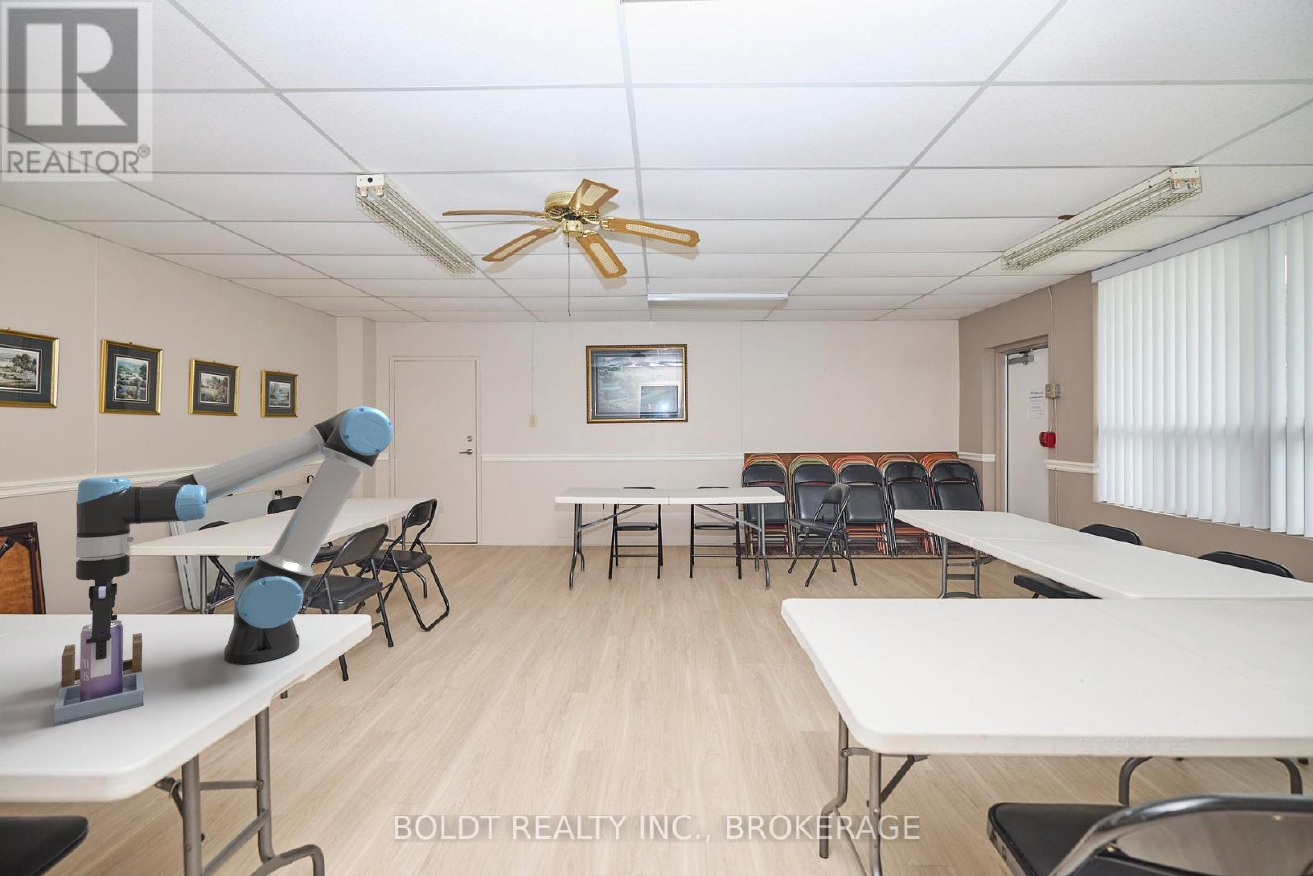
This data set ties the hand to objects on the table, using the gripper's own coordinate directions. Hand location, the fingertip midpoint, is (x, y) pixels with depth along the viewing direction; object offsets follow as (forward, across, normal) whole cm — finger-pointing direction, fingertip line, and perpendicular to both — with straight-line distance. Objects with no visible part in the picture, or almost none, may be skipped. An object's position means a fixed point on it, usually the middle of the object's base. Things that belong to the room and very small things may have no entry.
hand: (102, 665), depth 110 cm
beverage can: (+7, 0, 0) cm, 7 cm away
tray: (+8, 0, 0) cm, 8 cm away
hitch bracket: (+8, +14, 0) cm, 16 cm away
